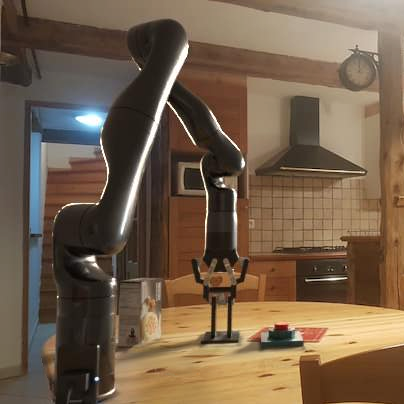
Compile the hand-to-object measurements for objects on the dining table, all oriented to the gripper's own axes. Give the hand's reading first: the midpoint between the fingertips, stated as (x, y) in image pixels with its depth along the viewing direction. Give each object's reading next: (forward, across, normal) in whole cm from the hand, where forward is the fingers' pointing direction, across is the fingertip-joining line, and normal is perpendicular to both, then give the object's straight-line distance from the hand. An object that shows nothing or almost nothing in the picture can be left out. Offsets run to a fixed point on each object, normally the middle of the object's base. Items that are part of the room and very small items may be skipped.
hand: (220, 300), depth 126 cm
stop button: (+8, +15, +2) cm, 17 cm away
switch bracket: (+12, 0, +9) cm, 15 cm away
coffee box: (+12, -20, +10) cm, 25 cm away
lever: (+1, 0, +4) cm, 4 cm away
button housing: (+12, +15, +2) cm, 19 cm away
